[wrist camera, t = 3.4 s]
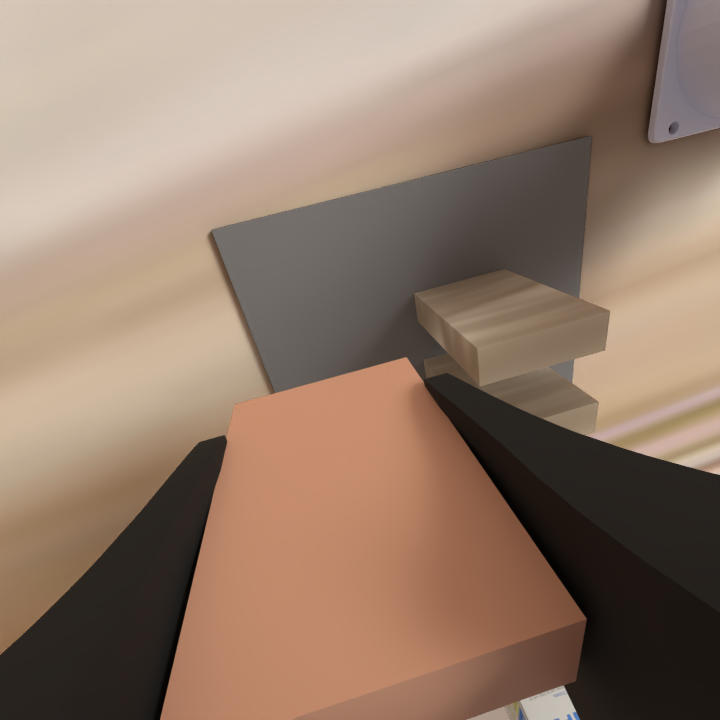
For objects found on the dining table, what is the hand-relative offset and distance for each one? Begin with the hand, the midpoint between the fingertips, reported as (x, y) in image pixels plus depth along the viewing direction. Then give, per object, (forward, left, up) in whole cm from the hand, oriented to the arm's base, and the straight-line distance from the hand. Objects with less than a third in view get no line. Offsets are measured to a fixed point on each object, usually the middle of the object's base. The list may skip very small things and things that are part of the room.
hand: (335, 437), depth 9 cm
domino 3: (-8, +5, -10) cm, 14 cm away
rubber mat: (-6, +9, -10) cm, 15 cm away
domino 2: (-8, +1, -10) cm, 13 cm away
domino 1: (0, 0, -2) cm, 2 cm away
